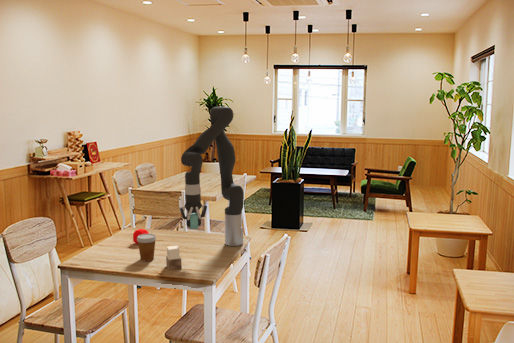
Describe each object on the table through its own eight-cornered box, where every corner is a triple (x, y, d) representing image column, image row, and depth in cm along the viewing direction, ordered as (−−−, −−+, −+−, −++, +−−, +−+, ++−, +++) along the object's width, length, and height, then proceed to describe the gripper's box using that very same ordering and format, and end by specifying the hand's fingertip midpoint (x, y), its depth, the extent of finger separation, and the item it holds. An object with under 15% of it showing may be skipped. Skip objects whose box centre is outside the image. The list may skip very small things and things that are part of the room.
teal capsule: (197, 226, 254) (196, 212, 252) (199, 228, 249) (198, 214, 248) (188, 227, 252) (188, 213, 251) (190, 229, 248) (190, 215, 247)
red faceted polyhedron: (151, 242, 279) (151, 229, 278) (141, 246, 273) (140, 233, 271) (141, 240, 284) (140, 227, 282) (130, 244, 277) (130, 230, 276)
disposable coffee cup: (147, 263, 247) (146, 240, 244) (133, 260, 252) (132, 237, 249) (161, 258, 254) (160, 235, 252) (147, 254, 259) (146, 232, 257)
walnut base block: (178, 264, 246) (178, 254, 245) (181, 268, 240) (181, 258, 239) (166, 266, 244) (166, 256, 243) (168, 270, 238) (168, 260, 237)
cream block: (177, 255, 244) (177, 245, 243) (179, 258, 239) (179, 248, 239) (167, 256, 242) (166, 246, 242) (168, 259, 238) (168, 249, 237)
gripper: (204, 189, 254) (205, 223, 257) (176, 192, 248) (177, 226, 251) (209, 192, 247) (209, 226, 250) (180, 195, 242) (181, 230, 245)
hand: (193, 226), depth 251 cm, fingers closed on teal capsule, 4 cm apart
